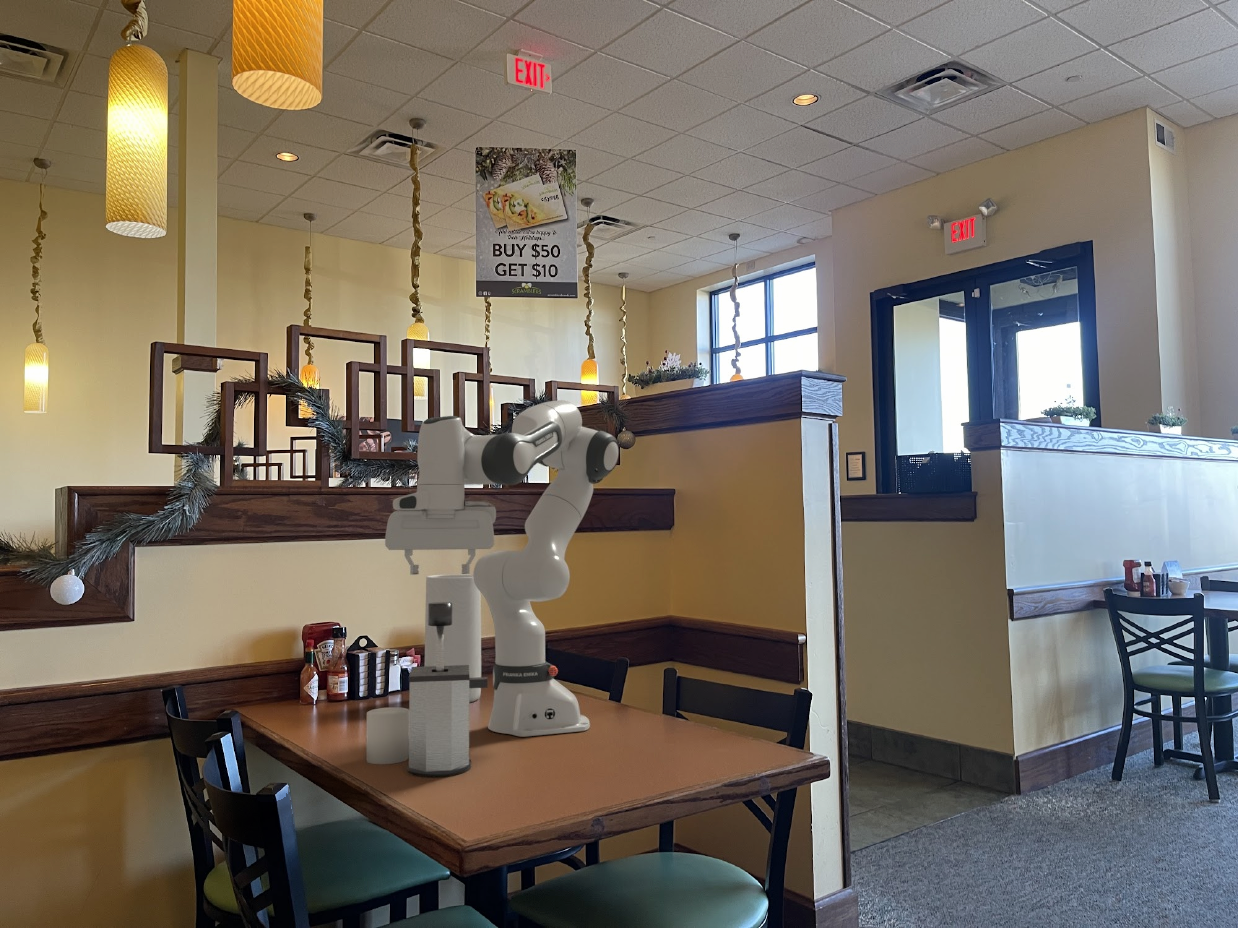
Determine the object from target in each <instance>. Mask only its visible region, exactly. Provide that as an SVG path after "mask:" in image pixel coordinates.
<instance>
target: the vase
mask: <svg viewBox="0 0 1238 928" xmlns="http://www.w3.org/2000/svg"><path fill="white" fill-rule="evenodd" d="M481 594H482V593H481V592H480V591H479V590H478V588H477V587H476V585H475V583H474V578H473V574H470V573H469V574H462V573H459V574H458V573H457V574H456V573H455V574H454V573H453V574H449V573H448V574H435V575H433V574H432V575H427V576H426V580H425V618H424V621H425V623H424V624H425V625H424V628H425V630H424V631H425V633H424V666H436V626H429V625H428V604H429V603H436V602H450V603H452V625H449V626H444V666H454V665H469V678H478V677H482V609H481V607H482V605H481V603H482V599H481V598H482V597H481V596H482V595H481ZM481 691H482V688H469V703H472V702H475V701H477V700H478V699H480V697H481Z"/></svg>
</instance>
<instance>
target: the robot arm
mask: <svg viewBox="0 0 1238 928" xmlns="http://www.w3.org/2000/svg"><path fill="white" fill-rule="evenodd" d="M416 456H417V458H416V459H417V460H416V461H417V465H418V471H419V475H418V479H417V482H416V486H417V487H416V488H417V489H416V492H413V493H411V492H410V493H407V494H406V495H402V496H399V497H397V498H394V499H393V500H392V508H393V509H394V510H395V511H393V512H392V513H390V515H389V517H388V520H387V524H386V530H385V538H384V546H385V548H386V549H388V550H389V551H404V557H405V559H406V561H407V563H408V565H409V566H410V570H409V571H410V572H409V573H410V575H411V576H413V575H419V574H420V573H419V572H420V571H419V568H420V567H419V566H420V565H419V564H415V563H414V562H413V559H412V558H411V557H412V556H413V555H414V554H413V553H414V551H418V550H419V551H420V550H421V551H423V550H424V551H430V550H434V551H435V550H442V551H443V550H467V555H468V556H469V558H468V560H467V561H466V563H462V564H461V574H470V568H471V566H470V565H471V564H472V562H473V561H474V559H475V557H476V551H477V550H491V549H492V548H493V547H494V546H495V534H494V525H493V524H494V523H495V522H496V519H497V508H496V507H495V505H494V504H492V503H491V502H489V501H488V500H480V501H478V500H465V487H466V486H467V485H469V486H471V485H472V486H473V485H505V486H514V485H515V486H517V485H518V484H520V483H521V482H523V481H524V479H525V478H526V477H527V476H528V475H529V473H530V471H531V470H532V469H533V468H534V467H535V466H536V465H537V464H540V465H541V466H544V467H547V468H553V469H556V470H558V471H557V475H556V477H555V478H554V479H553V481H552V482H550V484H549V485H548V486H547V487H546V489H545V491H544V492H543V493H542V495H541V496H540V498H539V499H538V501H537V503H536V504H535V505H534V508H533V509H532V510H531V512H530V514H529V515H528V516H527V518H526V520H525V522H524V531H525V534H526V536H527V537H528V541H527V544H526V545H525V546H524V548H523V549H521V550H497V551H493V552H489V553H486V554H483V555H482V556H481V557H479V558H478V560H477V561H476V563H475V564H474V568H473V573H472V575H473V578H474V583H475V585H476V587H477V588H478V590H479V591H480V592H481V594H482V595H483V597H484V599H485V601H486V603H487V606H488V609H489V611H490V614H491V618H492V621H493V627H494V641H495V643H494V644H495V647H494V648H495V662H494V663H493V668H492V686H493V689H494V693H493V700H492V701H493V703H492V709H491V714H490V719H489V721H488V726H487V728H488V730H490V731H492V732H495V733H500V734H508V735H512V736H516V737H521V738H522V737H525V738H526V737H532V736H533V737H534V736H543V735H545V736H546V735H554V734H564V733H574V732H575V733H576V732H585V731H587V730H588V729H590V728H591V723H590V719H589V718H588V717H586V715H584V714H581V710H580V705H579V702H578V698H577V697H576V695H575V694H574V693H573V692H571V691H570V690H569V689H568V688H566V687H565V686H564V685H562V684H561V682H559V681H557V680H556V679H555V676H557V674H558V672H559V670H558V668H557V667H556V666H555V665H553V664H552V663H549V662H547V661H546V628H545V626H544V624H543V623H542V622H541V620H540V619H539V618H538V617H537V616H536V614H535V612H534V611H533V608H532V605H531V602H536V603H537V602H541V603H542V602H546V601H551V600H555V599H559V598H561V597H562V596H563V595H564V594H565V592H566V591H567V589H568V587H569V584H570V578H571V577H570V576H571V575H570V568H569V566H568V564H567V562H566V561H565V556H566V551H567V547H568V545H569V543H570V541H571V539H572V538H573V535H574V534H575V533H576V530H577V529H578V527H579V526H580V523H581V522H582V520H583V518H584V516H585V514H586V512H587V510H588V507H589V505H590V502H591V499H592V496H593V494H594V485H595V484H599V483H601V481H603V480H604V478H606V477H607V476H609V475H610V474H611V473H612V471H613V470H614V469H615V468H616V467H617V463H618V461H619V457H620V446H619V443H618V441H617V438H616V437H615V436H614V435H612V434H610V433H608V432H606V431H603V430H596V429H593V428H588V427H585V426H583V419H582V414H581V412H580V410H579V408H578V407H577V406H576V405H575V404H574V403H572V402H570V401H568V400H562V399H561V400H551V401H550V400H549V401H546V402H545V401H544V402H541V403H539V404H536V405H533V406H530V407H528V408H526V409H525V410H523V411H522V412H520V413H519V414H518V415H517V416H516V417H514V420H513V423H512V426H511V432H505V433H499V434H489V435H487V434H486V435H475V434H473V433H472V432H470V431H469V430H467V428H465V426H464V425H463V421H462V418H461V417H460V416H457V415H446V416H438V417H437V416H436V417H435V416H434V417H430V418H426V419H425V420H424V421H422V423H421V425H420V428H419V433H418V441H417V455H416ZM465 485H466V486H465Z"/></svg>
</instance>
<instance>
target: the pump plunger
mask: <svg viewBox="0 0 1238 928" xmlns="http://www.w3.org/2000/svg"><path fill="white" fill-rule="evenodd" d="M428 625H429V626H436V672H444V626H449V625H452V603H450V602H436V603H429V604H428Z"/></svg>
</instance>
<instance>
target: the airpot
mask: <svg viewBox="0 0 1238 928" xmlns="http://www.w3.org/2000/svg"><path fill="white" fill-rule="evenodd" d="M409 671H410V672H409V676H408V683H409V697H408V698H409V701H408V702H409V703H408V704H409V707H408V709H409V758H408V763H407V766H406V767H407V770H406V771H407V773H408V774H410V775H412V776H415V777H418V778H419V777H420V778H444V777H446V778H447V777H452V776H458V775H461V774H464V773H466V772H468V771H469V770H470V769H471V768H472V761H471V759H470V702H469V688H481V689H485V688H489V686H488V676H484V677H483V676H481V677H478V678H469V665H454V666H444V672H436V666H425V665H424V666H412V667H411V668H410V670H409Z"/></svg>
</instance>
